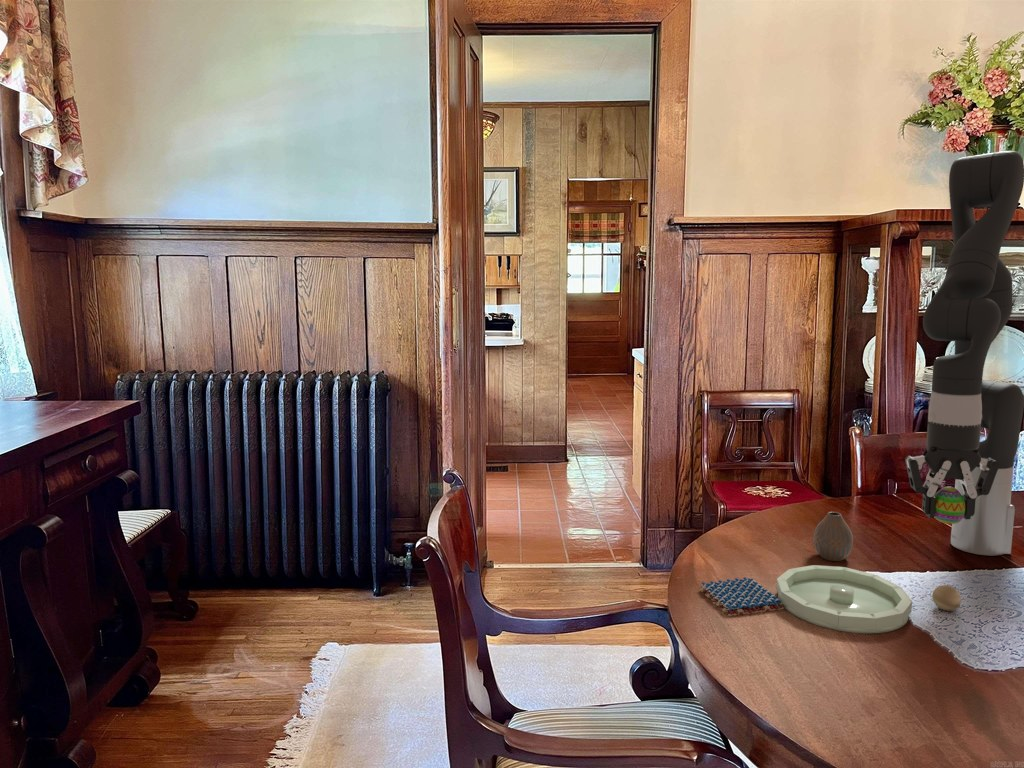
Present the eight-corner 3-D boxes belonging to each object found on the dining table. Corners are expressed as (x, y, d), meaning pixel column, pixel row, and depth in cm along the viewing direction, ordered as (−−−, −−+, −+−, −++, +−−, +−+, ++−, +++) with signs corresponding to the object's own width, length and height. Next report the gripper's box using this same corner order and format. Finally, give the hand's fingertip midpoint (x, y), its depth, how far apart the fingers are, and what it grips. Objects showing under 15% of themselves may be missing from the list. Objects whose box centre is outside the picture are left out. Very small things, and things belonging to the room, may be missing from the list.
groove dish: (887, 584, 126) (888, 569, 126) (927, 638, 107) (928, 622, 107) (770, 576, 130) (771, 562, 130) (788, 627, 111) (788, 611, 111)
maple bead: (954, 605, 118) (956, 581, 117) (964, 616, 114) (966, 592, 114) (927, 603, 119) (929, 580, 118) (936, 614, 115) (938, 590, 114)
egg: (925, 520, 122) (927, 486, 121) (938, 513, 125) (940, 480, 124) (957, 527, 119) (959, 492, 118) (969, 520, 122) (971, 486, 121)
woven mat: (728, 620, 115) (728, 608, 115) (697, 592, 125) (697, 581, 125) (786, 613, 117) (787, 601, 117) (751, 586, 127) (752, 575, 127)
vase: (856, 565, 134) (858, 520, 133) (816, 563, 136) (819, 518, 135) (846, 551, 141) (849, 508, 140) (809, 549, 143) (811, 507, 141)
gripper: (992, 415, 121) (984, 511, 124) (900, 413, 124) (894, 508, 127) (1013, 424, 114) (1004, 527, 117) (914, 422, 117) (908, 523, 120)
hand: (947, 516), depth 122 cm, fingers closed on egg, 5 cm apart
